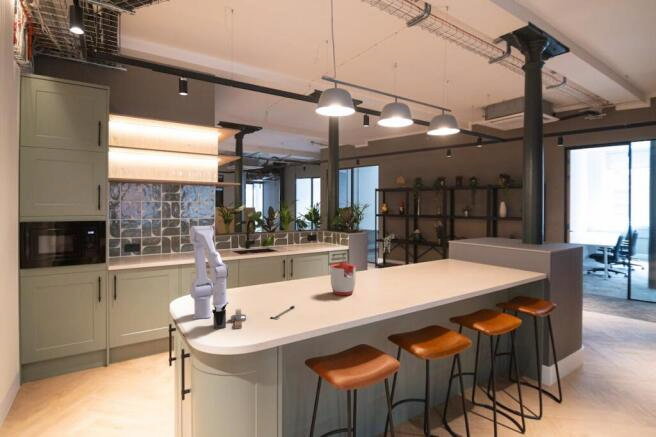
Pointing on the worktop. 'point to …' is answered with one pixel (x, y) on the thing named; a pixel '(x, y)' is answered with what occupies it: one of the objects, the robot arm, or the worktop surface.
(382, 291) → the worktop surface
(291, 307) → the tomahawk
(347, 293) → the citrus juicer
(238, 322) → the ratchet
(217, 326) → the dark grey block
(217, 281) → the robot arm
